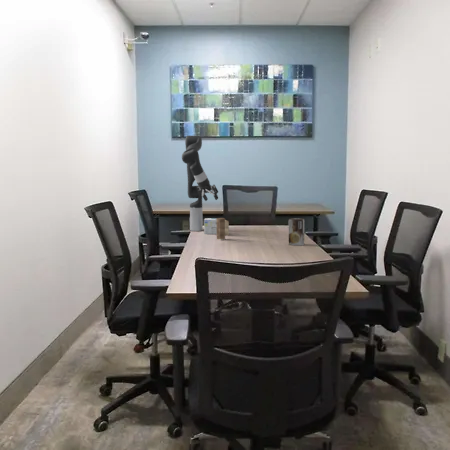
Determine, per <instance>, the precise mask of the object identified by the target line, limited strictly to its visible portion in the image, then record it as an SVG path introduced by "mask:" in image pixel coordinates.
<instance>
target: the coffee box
mask: <svg viewBox="0 0 450 450" xmlns="http://www.w3.org/2000/svg"><path fill="white" fill-rule="evenodd" d="M305 222H306V221H305V218H301V217H300V218H299V217H295V218H294V217H293V218H292V217H290V218H289V219H288V244H287V245H288V246H304V245H305Z"/></svg>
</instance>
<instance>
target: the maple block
mask: <svg viewBox="0 0 450 450" xmlns="http://www.w3.org/2000/svg"><path fill="white" fill-rule="evenodd" d="M229 224H230V223H229V220H226V219H225V237H226V236H229V235H230V234H229V229H230V228H229Z"/></svg>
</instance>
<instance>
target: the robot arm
mask: <svg viewBox="0 0 450 450" xmlns="http://www.w3.org/2000/svg"><path fill="white" fill-rule="evenodd" d="M184 142H185V150H184V151H183V153H182V154H181V160H182V163H184V164H186V174H187V196H188V198H189V199H197V200H195V201H194V202H191V203H190V204H189V231H192V232H201V231H202V232H203V230H204V219H203V217H204V216H203V200H204V201H205V202H207V201H208V197H207V195H206V194H209V195H210V194H211V195H213V197H214V200H215V201H217V200H218V199H219V196H218V193H219V191H218V188H217V187H216V185H215V184H212V185H211V182H210V180H209V178H208V175H207V174H206V172H205V170H204V169H203V166H202V164H201V161H200V155H199V151H200V150H201V148H202V146H203V139H202V137H201V136H200V135H187V136H186V137H185V141H184ZM194 182H195V183H196V184H197V185H193V184H194Z"/></svg>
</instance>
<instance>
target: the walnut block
mask: <svg viewBox="0 0 450 450" xmlns="http://www.w3.org/2000/svg"><path fill="white" fill-rule="evenodd" d="M225 220H226V218H224V217H217V218H216V221H217V234H216V240H218V241H219V240H220V241H222V240H226V236H225Z"/></svg>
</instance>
